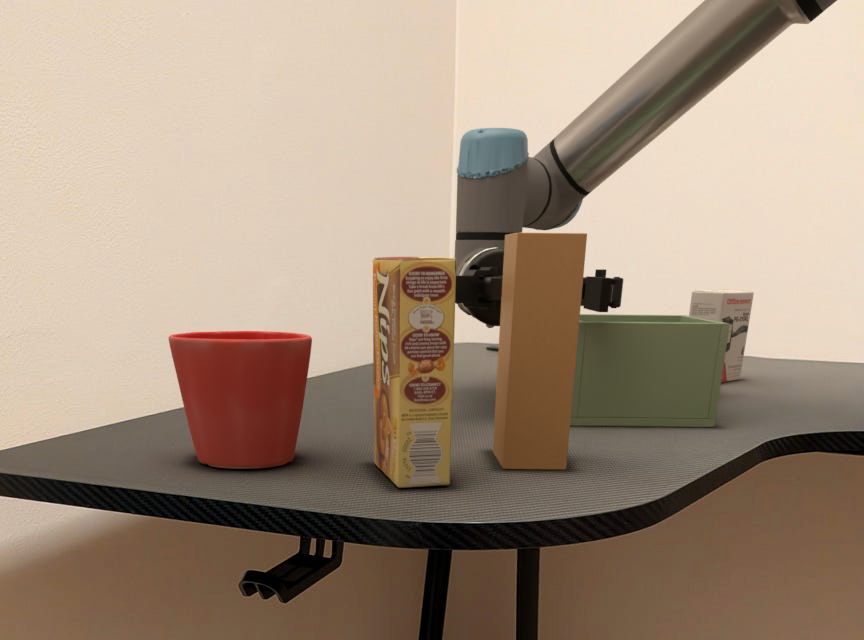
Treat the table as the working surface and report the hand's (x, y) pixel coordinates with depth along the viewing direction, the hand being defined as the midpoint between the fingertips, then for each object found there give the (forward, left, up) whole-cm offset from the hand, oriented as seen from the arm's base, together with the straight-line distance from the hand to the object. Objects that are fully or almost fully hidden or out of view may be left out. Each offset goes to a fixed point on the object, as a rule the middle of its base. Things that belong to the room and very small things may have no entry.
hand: (524, 294), depth 76 cm
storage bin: (-14, -17, -12) cm, 25 cm away
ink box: (-34, -49, -13) cm, 61 cm away
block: (0, +7, -12) cm, 14 cm away
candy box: (+10, +13, -13) cm, 21 cm away
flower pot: (+23, +8, -13) cm, 28 cm away
